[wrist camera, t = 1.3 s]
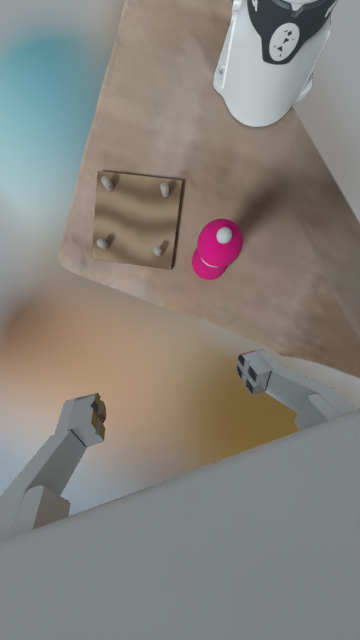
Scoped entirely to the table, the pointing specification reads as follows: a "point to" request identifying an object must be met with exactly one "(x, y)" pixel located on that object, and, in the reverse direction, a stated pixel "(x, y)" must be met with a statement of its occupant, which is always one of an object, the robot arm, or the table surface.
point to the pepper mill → (216, 248)
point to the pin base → (136, 219)
